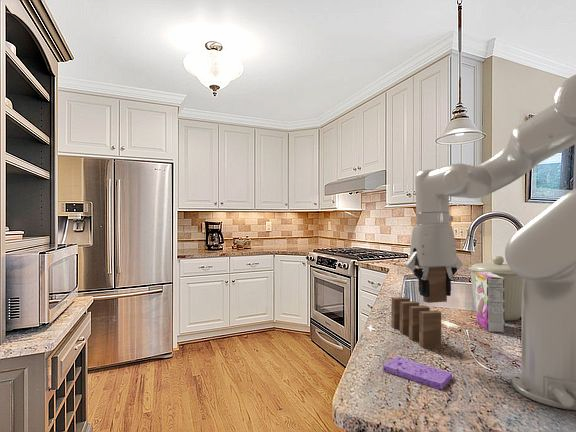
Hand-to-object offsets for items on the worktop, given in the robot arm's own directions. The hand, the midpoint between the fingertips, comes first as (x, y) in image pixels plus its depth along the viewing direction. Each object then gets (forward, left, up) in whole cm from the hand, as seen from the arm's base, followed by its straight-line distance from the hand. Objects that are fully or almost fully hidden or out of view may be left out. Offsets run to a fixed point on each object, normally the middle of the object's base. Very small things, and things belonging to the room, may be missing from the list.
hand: (435, 294), depth 85 cm
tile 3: (+12, +3, -15) cm, 19 cm away
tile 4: (+17, +5, -15) cm, 23 cm away
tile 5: (+22, +7, -15) cm, 27 cm away
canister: (+45, -25, -15) cm, 53 cm away
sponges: (-12, +5, -16) cm, 20 cm away
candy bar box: (+31, -19, -15) cm, 39 cm away
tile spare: (0, 0, -2) cm, 2 cm away
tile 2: (+7, 0, -15) cm, 16 cm away
